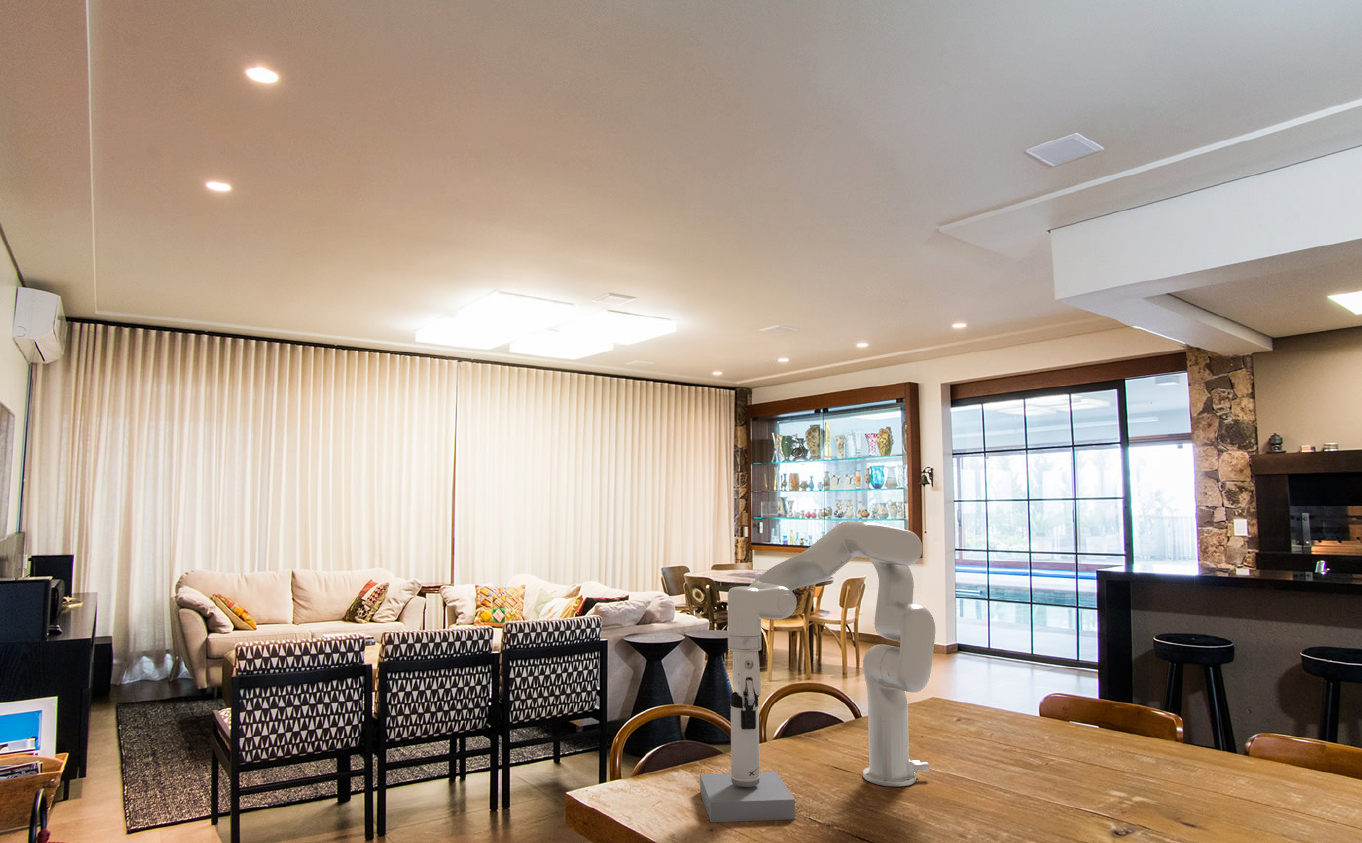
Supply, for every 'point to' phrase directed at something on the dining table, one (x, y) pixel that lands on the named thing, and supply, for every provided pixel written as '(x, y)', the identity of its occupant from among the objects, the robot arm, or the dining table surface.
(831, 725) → the dining table surface
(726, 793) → the plinth
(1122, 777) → the dining table surface
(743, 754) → the travel mug
